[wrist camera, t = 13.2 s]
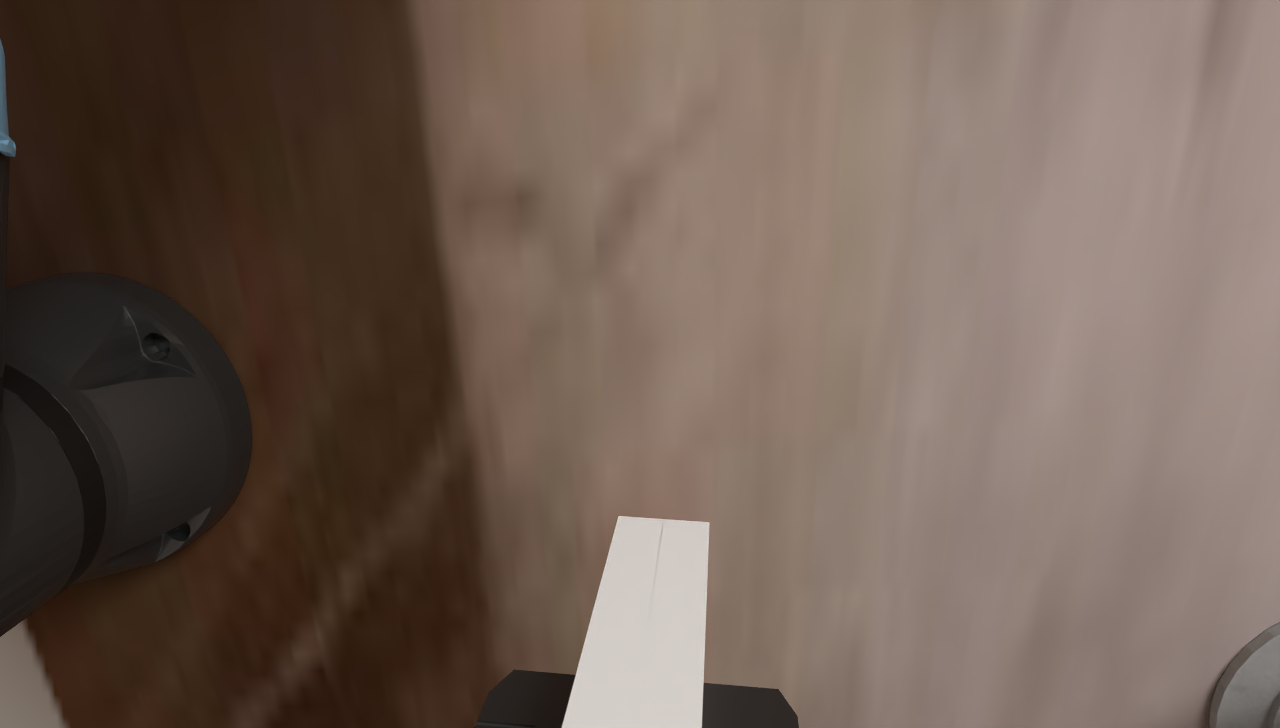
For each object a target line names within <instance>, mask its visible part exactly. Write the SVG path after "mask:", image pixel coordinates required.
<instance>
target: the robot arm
mask: <svg viewBox="0 0 1280 728" xmlns="http://www.w3.org/2000/svg"><path fill="white" fill-rule="evenodd" d="M15 153H16V148H15V143H14V142H13V141H12V140H11V139H10V137H9V133H8V118H7V104H6V79H5V57H4V50H3V46H2V43H1V40H0V637H1V636H2V635H3V634H5V633H6V632H7V631H9V630H10V629H12V628H13V627H14V626H16V625H17V624H18V623H20V622H21V621H22V620H24V619H25V618H27V617H28V616H29V615H31V614H32V613H33V612H35V611H36V610H37V609H39V608H40V607H42V606H43V605H44V604H46V603H47V602H48V601H49V600H51V599H52V598H53V597H55V596H56V595H58V594H59V593H61V592H62V591H63V590H65V589H66V588H68V587H69V586H71V585H75V584H78V583H82V582H86V581H90V580H93V579H97V578H101V577H105V576H108V575H112V574H116V573H119V572H123V571H127V570H131V569H134V568H138V567H142V566H146V565H149V564H152V563H155V562H158V561H160V560H162V559H165V558H167V557H169V556H171V555H173V554H175V553H177V552H178V551H180V550H182V549H183V548H185V547H186V546H188V545H189V544H191V543H192V542H193V541H194V540H196V539H197V538H198V537H199V536H201V535H202V534H203V533H205V532H206V531H207V530H208V529H210V528H211V527H212V526H213V525H215V524H216V523H217V522H218V521H219V520H220V519H221V518H222V517H223V516H224V515H225V514H226V512H227V511H228V510H229V509H230V507H231V506H232V504H233V503H234V501H235V500H236V498H237V496H238V495H239V493H240V490H241V488H242V486H243V484H244V481H245V478H246V475H247V471H248V468H249V463H250V457H251V448H252V432H251V421H250V414H249V409H248V405H247V401H246V398H245V394H244V391H243V389H242V386H241V383H240V381H239V379H238V376H237V374H236V372H235V370H234V368H233V366H232V364H231V363H230V361H229V359H228V358H227V356H226V354H225V353H224V351H223V350H222V349H221V347H220V346H219V344H218V343H217V342H216V340H215V339H214V338H213V337H212V335H211V334H210V333H209V332H208V331H207V330H206V329H205V328H204V327H203V326H202V325H201V324H200V323H199V322H198V321H197V320H196V319H195V318H194V317H193V316H192V315H191V314H190V313H188V312H187V311H186V310H185V309H183V308H182V307H181V306H179V305H178V304H177V303H175V302H174V301H172V300H171V299H169V298H168V297H166V296H164V295H162V294H161V293H159V292H157V291H155V290H153V289H151V288H149V287H147V286H145V285H142V284H140V283H137V282H135V281H131V280H128V279H125V278H121V277H117V276H113V275H107V274H100V273H68V274H62V275H57V276H52V277H48V278H44V279H39V280H35V281H31V282H27V283H23V284H19V285H16V286H13V287H11V288H8V289H6V257H7V227H8V196H9V165H10V157H15ZM708 544H709V522H696V521H682V520H667V519H653V518H639V517H624V516H618V520H617V524H616V528H615V531H614V535H613V539H612V542H611V546H610V550H609V554H608V557H607V561H606V565H605V568H604V572H603V576H602V580H601V583H600V587H599V591H598V595H597V598H596V602H595V606H594V609H593V613H592V617H591V621H590V624H589V628H588V632H587V635H586V639H585V643H584V647H583V650H582V654H581V658H580V662H579V665H578V669H577V673H576V675H570V674H558V673H547V672H535V671H523V670H513V671H512V672H511V673H510V674H509V675H508V676H507V677H505V678H504V679H503V680H502V681H501V682H500V683H499V684H498V685H497V686H496V687H494V688H493V689H492V690H491V691H490V692H489V694H488V696H487V698H486V701H485V703H484V706H483V708H482V711H481V713H480V715H479V718H478V720H477V726H475V727H474V728H799V725H798V717H797V715H796V714H795V712H794V711H793V709H792V708H791V706H790V705H789V704H788V702H787V701H786V699H785V698H784V697H783V695H782V694H781V692H780V691H779V690H778V689H769V688H758V687H746V686H734V685H722V684H710V683H703V682H704V654H705V627H706V599H707V572H708Z"/></svg>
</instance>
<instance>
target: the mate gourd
mask: <svg viewBox="0 0 1280 728" xmlns="http://www.w3.org/2000/svg"><path fill="white" fill-rule="evenodd" d="M1209 728H1280V622H1279V623H1277V624H1276V625H1274V626H1272V627H1270V628H1268V629H1266V630H1265V631H1264V632H1262V633H1261V634H1260V635H1259V636H1257V637H1256V638H1255V639H1253V640H1252V641H1251V642H1250V643H1248V644H1247V645H1246V646H1245V647H1244V648H1243V649H1242V650H1241V651H1240V652H1239V654H1238V655H1237V656H1236V657H1235V658H1234V659H1233V660H1232V661H1231V662H1230V664H1229V665H1228V667H1227V669H1226V670H1225V672H1224V674H1223V675H1222V677H1221V679H1220V680H1219V682H1218V684H1217V687H1216V690H1215V693H1214V696H1213V699H1212V702H1211V707H1210V717H1209Z"/></svg>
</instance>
